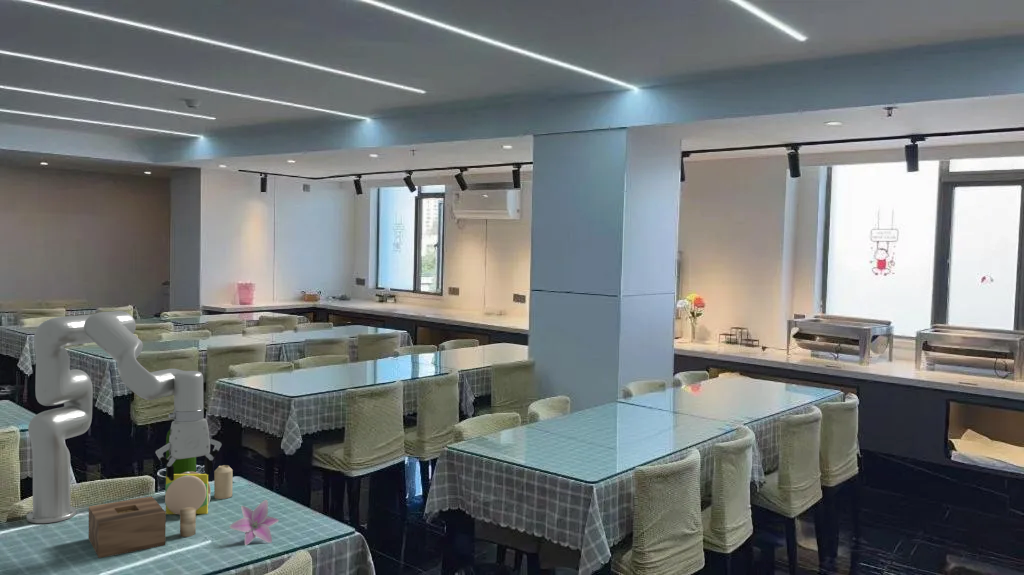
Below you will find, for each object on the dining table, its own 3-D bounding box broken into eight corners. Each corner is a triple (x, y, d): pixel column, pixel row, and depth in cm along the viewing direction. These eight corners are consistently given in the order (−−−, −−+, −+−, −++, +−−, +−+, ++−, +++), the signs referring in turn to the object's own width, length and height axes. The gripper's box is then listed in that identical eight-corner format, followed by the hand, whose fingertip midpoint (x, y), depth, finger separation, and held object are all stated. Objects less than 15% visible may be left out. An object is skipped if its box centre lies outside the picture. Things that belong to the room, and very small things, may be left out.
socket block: (88, 538, 209) (88, 506, 208) (151, 527, 218) (152, 496, 218) (98, 558, 196) (98, 523, 196) (165, 545, 206) (165, 512, 205)
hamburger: (212, 507, 237) (213, 469, 236) (204, 516, 228) (205, 476, 228) (172, 507, 236) (172, 469, 235) (163, 516, 227) (163, 476, 227)
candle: (226, 499, 244) (226, 469, 243) (210, 498, 245) (210, 467, 244) (235, 494, 249) (236, 464, 249) (220, 493, 250) (220, 463, 250)
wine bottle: (202, 494, 249) (202, 395, 248) (179, 501, 241) (180, 399, 239) (182, 489, 253) (182, 392, 251) (159, 497, 245) (160, 396, 243)
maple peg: (178, 533, 214) (178, 508, 214) (193, 530, 217) (193, 506, 216) (182, 537, 211) (182, 513, 211) (197, 535, 213) (197, 510, 213)
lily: (222, 547, 208) (228, 522, 204) (239, 517, 218) (245, 492, 214) (264, 560, 209) (271, 536, 205) (280, 530, 219) (286, 506, 215)
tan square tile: (116, 515, 207) (116, 512, 207) (133, 512, 210) (134, 509, 210) (119, 520, 204) (119, 516, 204) (137, 517, 206) (137, 513, 206)
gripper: (158, 422, 204) (159, 485, 205) (224, 414, 215) (225, 474, 215) (152, 417, 210) (152, 478, 211) (217, 410, 221) (217, 468, 221)
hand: (189, 476), depth 213 cm, fingers open, 9 cm apart
